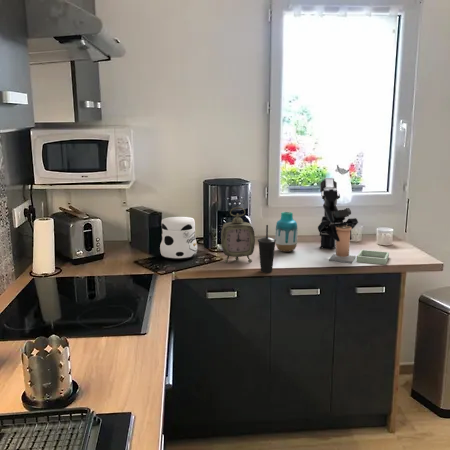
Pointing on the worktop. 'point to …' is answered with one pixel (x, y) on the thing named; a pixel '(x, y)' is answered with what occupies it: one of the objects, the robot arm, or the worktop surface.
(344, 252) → the terracotta pot
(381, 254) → the green tray
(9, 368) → the worktop surface
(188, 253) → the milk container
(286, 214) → the vase
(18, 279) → the worktop surface
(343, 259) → the slate tile
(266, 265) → the drinking cup
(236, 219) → the tabletop clock
